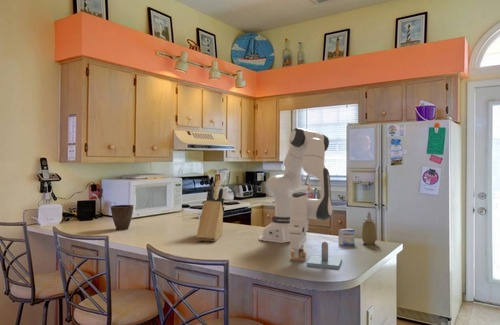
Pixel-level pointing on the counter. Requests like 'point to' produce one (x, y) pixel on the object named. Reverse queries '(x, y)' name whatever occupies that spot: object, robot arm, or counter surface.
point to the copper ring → (301, 255)
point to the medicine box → (346, 237)
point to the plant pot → (122, 216)
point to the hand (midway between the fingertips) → (298, 255)
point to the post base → (325, 263)
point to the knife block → (211, 217)
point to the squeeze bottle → (369, 231)
